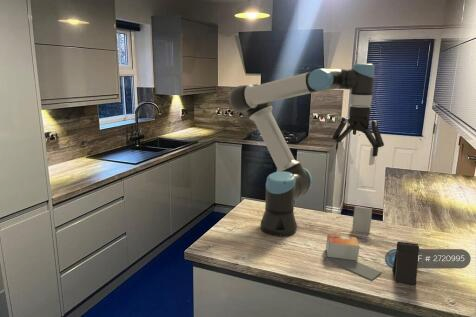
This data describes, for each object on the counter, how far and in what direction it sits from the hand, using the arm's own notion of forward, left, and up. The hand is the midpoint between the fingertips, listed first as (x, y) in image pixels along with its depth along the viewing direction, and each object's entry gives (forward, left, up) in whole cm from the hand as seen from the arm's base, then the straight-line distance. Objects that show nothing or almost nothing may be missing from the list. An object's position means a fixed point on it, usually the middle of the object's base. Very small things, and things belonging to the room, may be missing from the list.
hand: (355, 161), depth 140 cm
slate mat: (+14, -22, -31) cm, 40 cm away
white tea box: (+2, +7, -31) cm, 32 cm away
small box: (+12, -14, -28) cm, 33 cm away
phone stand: (+29, -15, -31) cm, 45 cm away
